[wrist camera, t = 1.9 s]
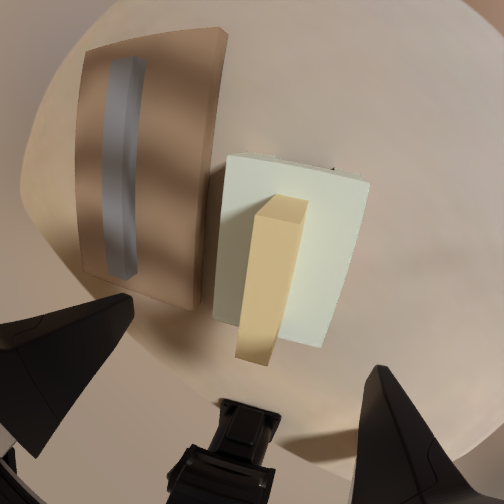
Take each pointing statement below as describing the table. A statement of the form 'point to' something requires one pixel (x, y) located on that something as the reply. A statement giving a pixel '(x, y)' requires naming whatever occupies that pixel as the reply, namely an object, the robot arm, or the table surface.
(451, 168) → the table surface
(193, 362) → the table surface
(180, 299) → the board
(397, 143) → the table surface
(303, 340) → the sage block
